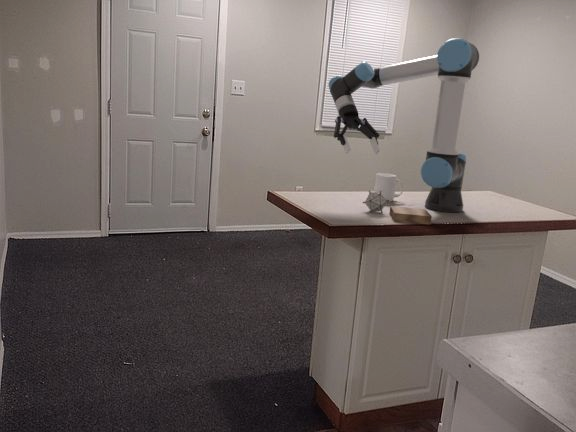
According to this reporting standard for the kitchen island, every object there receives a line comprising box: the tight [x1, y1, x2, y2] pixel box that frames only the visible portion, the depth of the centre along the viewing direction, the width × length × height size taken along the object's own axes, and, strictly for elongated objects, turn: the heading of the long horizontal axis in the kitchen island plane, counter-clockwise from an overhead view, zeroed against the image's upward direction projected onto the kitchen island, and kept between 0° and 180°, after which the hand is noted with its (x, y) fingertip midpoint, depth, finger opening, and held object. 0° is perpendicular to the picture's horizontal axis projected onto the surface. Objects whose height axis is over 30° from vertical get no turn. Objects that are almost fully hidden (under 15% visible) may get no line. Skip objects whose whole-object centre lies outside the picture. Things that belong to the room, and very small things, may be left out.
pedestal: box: [388, 205, 433, 225], centre depth 192 cm, size 13×12×3 cm
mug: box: [373, 172, 404, 202], centre depth 224 cm, size 9×12×11 cm
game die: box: [362, 190, 390, 214], centre depth 199 cm, size 9×8×10 cm
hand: (363, 151), depth 204 cm, fingers open, 13 cm apart
